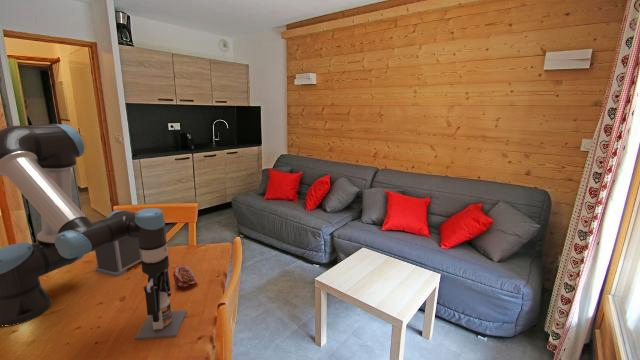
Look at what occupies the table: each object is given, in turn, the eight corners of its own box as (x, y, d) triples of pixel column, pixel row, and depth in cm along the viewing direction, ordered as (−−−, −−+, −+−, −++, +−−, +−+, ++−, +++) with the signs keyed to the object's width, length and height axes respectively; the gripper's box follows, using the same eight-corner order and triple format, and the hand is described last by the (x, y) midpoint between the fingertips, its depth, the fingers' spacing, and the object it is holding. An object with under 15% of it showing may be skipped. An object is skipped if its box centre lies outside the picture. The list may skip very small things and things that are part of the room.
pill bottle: (164, 329, 97) (160, 302, 95) (148, 326, 98) (144, 299, 96) (175, 317, 103) (172, 291, 100) (160, 315, 104) (157, 289, 101)
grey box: (131, 253, 148) (126, 217, 144) (153, 257, 144) (148, 221, 140) (94, 271, 131) (87, 232, 127) (117, 277, 127) (110, 237, 123)
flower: (164, 289, 117) (175, 275, 115) (168, 273, 125) (179, 259, 123) (188, 297, 121) (199, 283, 120) (191, 280, 129) (201, 267, 128)
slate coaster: (135, 339, 94) (134, 338, 94) (150, 314, 106) (150, 312, 105) (175, 336, 96) (175, 334, 95) (186, 311, 107) (186, 310, 107)
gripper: (155, 272, 86) (163, 341, 92) (176, 244, 104) (182, 303, 110) (127, 274, 85) (137, 343, 91) (153, 244, 103) (160, 304, 109)
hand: (162, 321), depth 100 cm, fingers closed on pill bottle, 6 cm apart
